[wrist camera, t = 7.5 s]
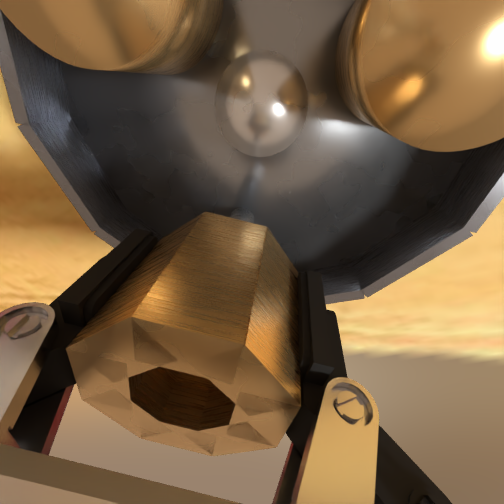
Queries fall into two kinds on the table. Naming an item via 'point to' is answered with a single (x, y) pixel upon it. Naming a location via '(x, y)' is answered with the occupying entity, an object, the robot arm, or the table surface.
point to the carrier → (270, 121)
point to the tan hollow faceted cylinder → (199, 341)
